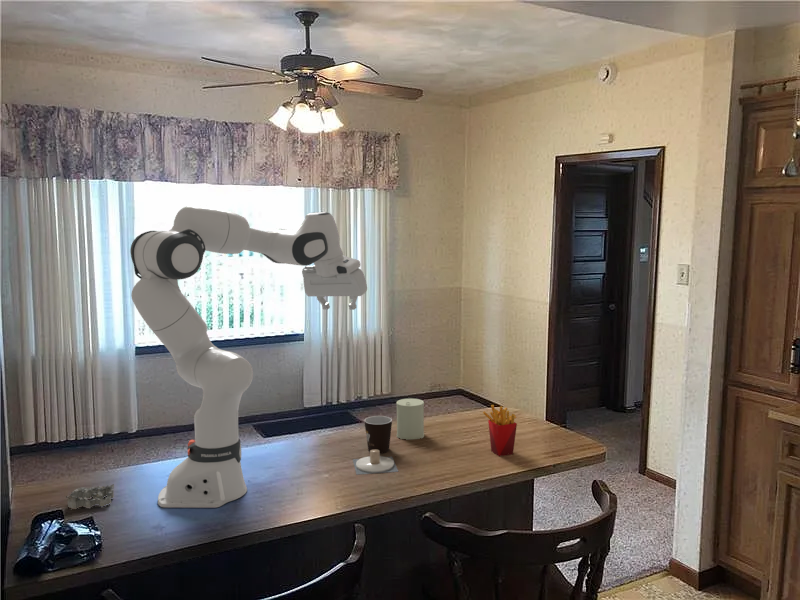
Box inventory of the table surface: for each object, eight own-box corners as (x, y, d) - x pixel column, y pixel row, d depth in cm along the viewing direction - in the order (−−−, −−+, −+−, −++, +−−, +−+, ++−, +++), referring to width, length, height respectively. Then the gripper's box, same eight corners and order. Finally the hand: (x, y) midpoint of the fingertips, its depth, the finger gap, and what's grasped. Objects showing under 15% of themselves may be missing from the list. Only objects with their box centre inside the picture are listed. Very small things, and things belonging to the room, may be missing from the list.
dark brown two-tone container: (392, 456, 204) (391, 424, 203) (363, 456, 204) (363, 424, 203) (393, 443, 216) (392, 413, 214) (366, 443, 216) (366, 413, 215)
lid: (358, 473, 190) (357, 459, 189) (354, 459, 200) (354, 445, 200) (396, 471, 191) (396, 456, 191) (390, 457, 202) (390, 443, 202)
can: (393, 439, 220) (392, 403, 218) (401, 430, 228) (400, 396, 227) (420, 441, 217) (419, 405, 216) (427, 432, 226) (427, 398, 224)
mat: (356, 475, 189) (356, 474, 189) (352, 460, 201) (352, 459, 201) (398, 472, 191) (398, 471, 191) (392, 457, 203) (392, 456, 203)
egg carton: (64, 512, 169) (63, 496, 168) (74, 499, 176) (73, 484, 175) (109, 508, 170) (108, 493, 170) (117, 496, 178) (116, 481, 177)
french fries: (506, 447, 210) (506, 401, 209) (520, 456, 203) (520, 408, 201) (481, 451, 207) (481, 404, 205) (494, 460, 200) (494, 411, 198)
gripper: (295, 269, 199) (305, 312, 203) (354, 268, 189) (363, 313, 194) (306, 262, 204) (316, 304, 208) (364, 260, 194) (373, 304, 199)
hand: (339, 308), depth 201 cm, fingers open, 8 cm apart
